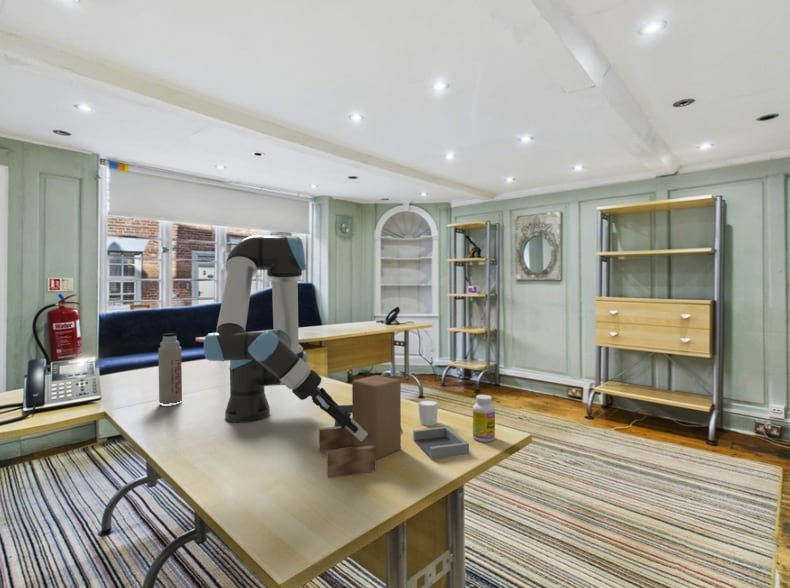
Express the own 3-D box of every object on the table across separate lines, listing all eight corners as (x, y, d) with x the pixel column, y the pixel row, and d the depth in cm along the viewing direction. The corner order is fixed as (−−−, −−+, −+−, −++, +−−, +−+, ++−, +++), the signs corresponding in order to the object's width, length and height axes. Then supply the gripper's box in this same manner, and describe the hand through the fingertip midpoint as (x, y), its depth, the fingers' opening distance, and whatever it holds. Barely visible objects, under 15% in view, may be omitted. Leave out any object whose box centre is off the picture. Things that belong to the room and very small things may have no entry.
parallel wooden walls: (327, 477, 100) (327, 453, 100) (319, 449, 117) (319, 428, 117) (375, 470, 103) (375, 447, 103) (360, 444, 121) (360, 424, 120)
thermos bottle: (186, 402, 163) (185, 333, 163) (166, 407, 157) (165, 335, 156) (175, 399, 168) (173, 331, 167) (155, 404, 161) (153, 333, 160)
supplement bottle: (488, 444, 120) (488, 401, 120) (468, 438, 125) (468, 397, 124) (498, 438, 125) (499, 396, 125) (479, 432, 129) (479, 392, 129)
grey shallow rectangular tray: (431, 459, 110) (431, 448, 110) (413, 440, 124) (413, 430, 123) (468, 454, 113) (468, 443, 113) (447, 435, 127) (447, 426, 127)
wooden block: (376, 440, 124) (376, 374, 123) (401, 449, 117) (401, 379, 117) (351, 450, 116) (351, 380, 116) (377, 460, 110) (376, 386, 109)
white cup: (442, 422, 139) (442, 402, 139) (430, 428, 134) (429, 406, 134) (426, 418, 144) (426, 398, 143) (414, 423, 139) (413, 402, 138)
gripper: (289, 384, 111) (350, 439, 116) (291, 397, 99) (359, 457, 104) (309, 364, 112) (368, 418, 118) (314, 373, 100) (379, 434, 105)
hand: (364, 436), depth 111 cm, fingers closed
